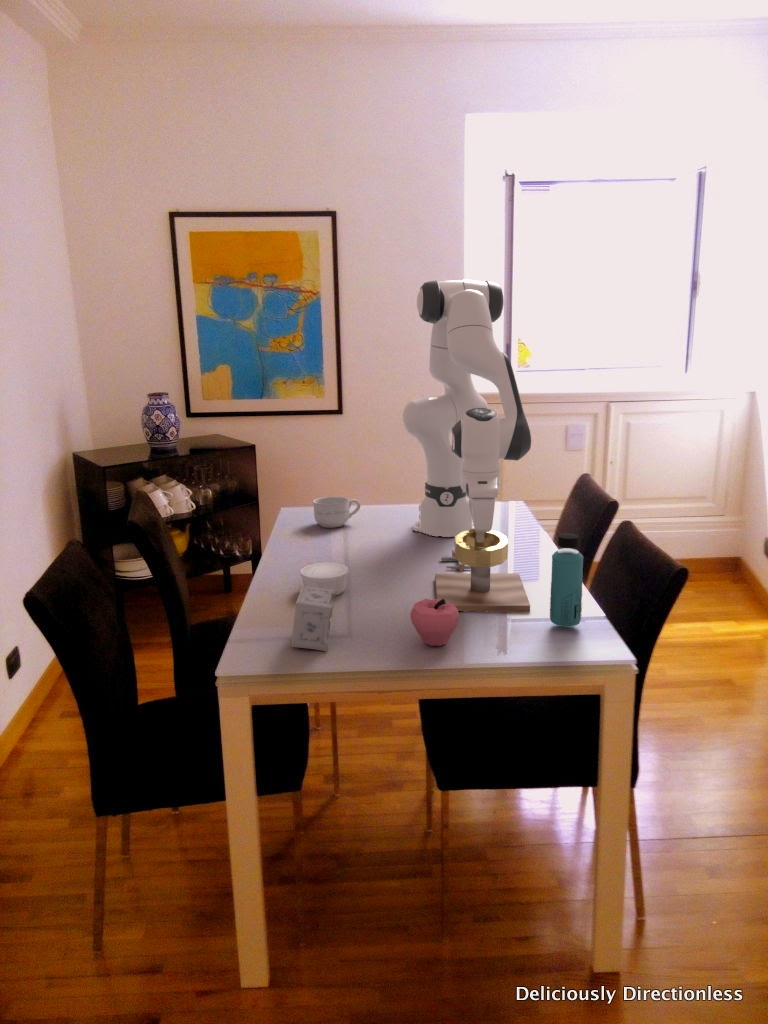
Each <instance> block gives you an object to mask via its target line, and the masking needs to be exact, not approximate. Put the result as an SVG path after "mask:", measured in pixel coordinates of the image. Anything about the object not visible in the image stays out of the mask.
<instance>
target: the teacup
mask: <svg viewBox="0 0 768 1024" xmlns="http://www.w3.org/2000/svg"><path fill="white" fill-rule="evenodd" d="M312 503H313V504H312V505H313V515H314V520H315V522H316V523H317V524H319V525H320V526H321V527H322V528H326V529H327V528H338V527H339V528H340V527H342V526H344V525H345V524H346V523H347V522H348V520H349V519H351V518H352V516H354V515H355V514H357V513H358V512H359V511H360V510H361V509H360V508H361V502H360V501H359V500H358V499H356V498H353V499H349V498H348V497H345V496H325V497H319V498H315V499H314V500H312ZM353 503H355V504H356V508H355V509H354V510H352V511H351V512H350V508H351V506H352V504H353Z"/></svg>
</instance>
